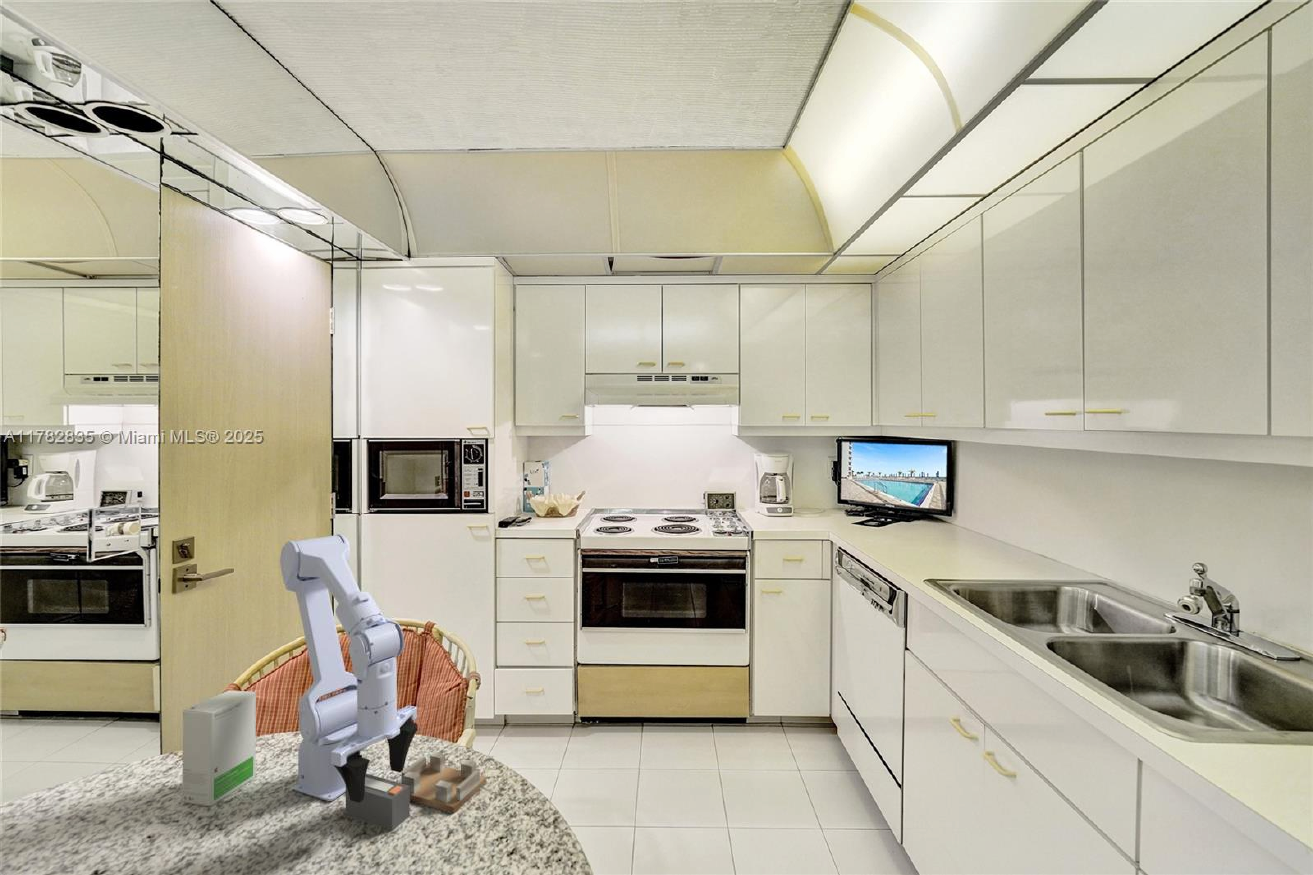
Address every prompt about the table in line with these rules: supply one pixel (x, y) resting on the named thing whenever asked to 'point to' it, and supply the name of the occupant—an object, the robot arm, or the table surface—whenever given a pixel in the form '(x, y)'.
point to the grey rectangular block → (381, 803)
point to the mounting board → (442, 782)
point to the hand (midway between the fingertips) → (377, 784)
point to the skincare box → (218, 747)
